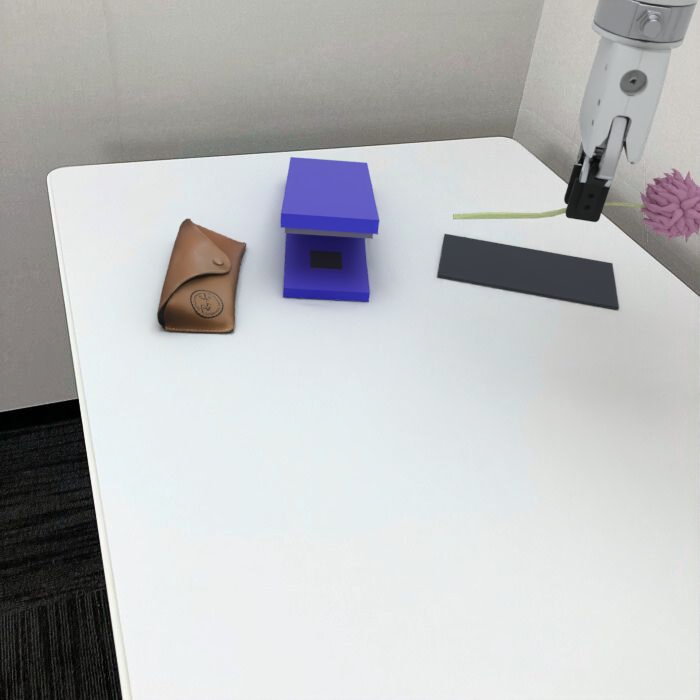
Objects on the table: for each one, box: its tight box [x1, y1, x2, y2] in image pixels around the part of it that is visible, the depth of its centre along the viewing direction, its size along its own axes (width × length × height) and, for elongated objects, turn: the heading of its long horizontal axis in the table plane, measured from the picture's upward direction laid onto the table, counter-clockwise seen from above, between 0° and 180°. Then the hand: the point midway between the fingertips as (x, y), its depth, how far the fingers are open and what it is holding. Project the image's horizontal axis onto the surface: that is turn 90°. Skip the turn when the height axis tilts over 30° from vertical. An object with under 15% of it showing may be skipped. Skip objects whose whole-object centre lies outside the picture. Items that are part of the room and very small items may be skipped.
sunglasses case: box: [156, 218, 247, 334], centre depth 88 cm, size 18×7×7 cm
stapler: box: [279, 156, 380, 303], centre depth 97 cm, size 12×28×10 cm, turn 2°
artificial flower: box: [452, 168, 700, 243], centre depth 75 cm, size 7×7×25 cm
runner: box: [436, 233, 620, 311], centre depth 97 cm, size 22×10×1 cm, turn 80°
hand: (580, 210), depth 76 cm, fingers closed on artificial flower
